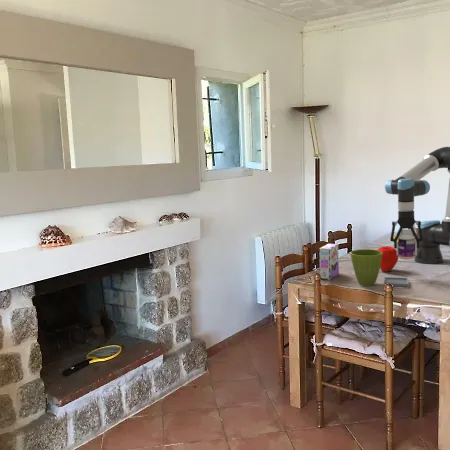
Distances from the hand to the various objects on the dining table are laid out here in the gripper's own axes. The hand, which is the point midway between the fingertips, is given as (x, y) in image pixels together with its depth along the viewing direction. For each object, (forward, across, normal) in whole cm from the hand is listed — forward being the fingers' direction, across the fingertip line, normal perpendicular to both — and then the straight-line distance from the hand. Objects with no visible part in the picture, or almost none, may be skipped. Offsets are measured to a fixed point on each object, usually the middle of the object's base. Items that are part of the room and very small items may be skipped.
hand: (406, 254), depth 255 cm
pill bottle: (+2, 0, 0) cm, 2 cm away
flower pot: (+12, +19, +14) cm, 27 cm away
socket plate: (+12, +6, +13) cm, 18 cm away
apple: (+12, +10, -13) cm, 21 cm away
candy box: (+12, +39, +2) cm, 40 cm away
